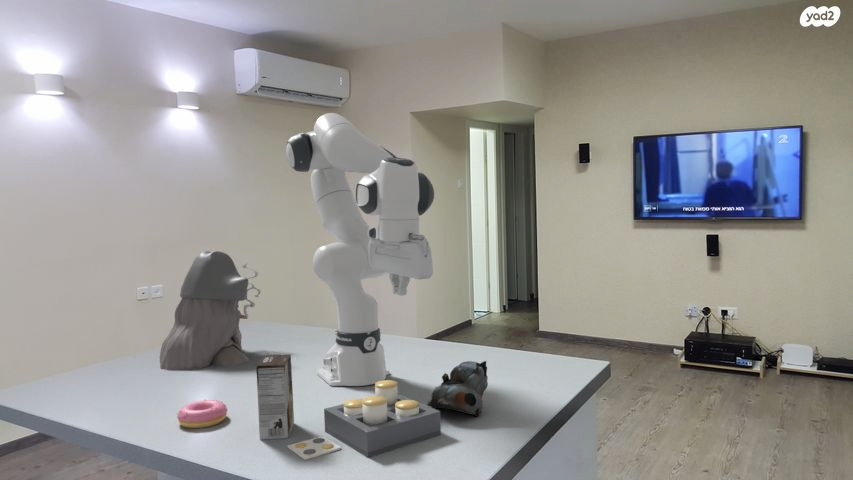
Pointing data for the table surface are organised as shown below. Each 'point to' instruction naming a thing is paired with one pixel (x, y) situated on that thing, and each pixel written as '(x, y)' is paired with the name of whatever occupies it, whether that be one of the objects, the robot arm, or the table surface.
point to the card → (314, 447)
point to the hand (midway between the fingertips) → (399, 294)
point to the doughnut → (202, 414)
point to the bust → (208, 316)
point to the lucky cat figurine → (462, 389)
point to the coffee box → (275, 396)
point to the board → (382, 428)
